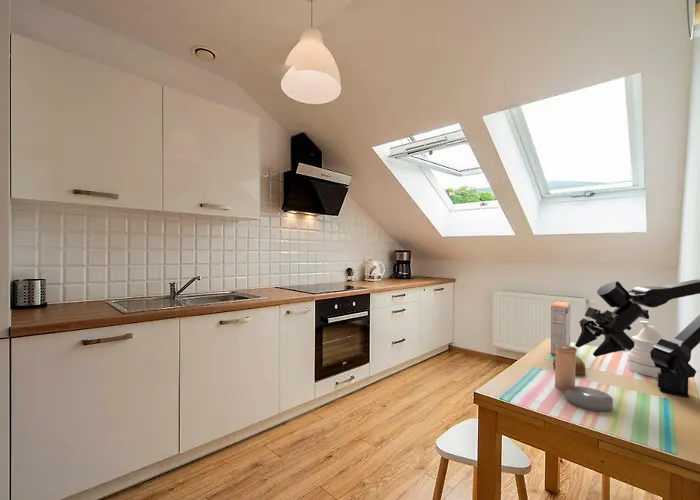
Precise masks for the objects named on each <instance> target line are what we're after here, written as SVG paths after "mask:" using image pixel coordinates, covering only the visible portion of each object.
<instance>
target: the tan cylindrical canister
mask: <svg viewBox="0 0 700 500" xmlns="http://www.w3.org/2000/svg"><path fill="white" fill-rule="evenodd" d="M555 349H556V354H555V358H556V359H555V358H554V359H555V368H554V369H555V370H554V386H555V388H557V389H559V390H562V391H566V392H567V388H569V387H573V386H576V375H575V368H576V356H577V347H576V346H575V347H574V346H572V345H570V346H567V345H555Z"/></svg>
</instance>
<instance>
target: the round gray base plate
mask: <svg viewBox="0 0 700 500" xmlns="http://www.w3.org/2000/svg"><path fill="white" fill-rule="evenodd" d="M566 400H567V401H568V402H569V403H570V404H572V405H573V406H576V407H578V408H581V409H583V410H587V411H591V412H598V413H608V412H611V411H613V407H614V405H613V404H614V399H613V397H612V396H611V395H610V394H608V393H606V392H604V391H601V390H599V389H595V388H592V387H586V386H579V385H578V386H577V385H575V386H573V387H569V388H567V391H566Z"/></svg>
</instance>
